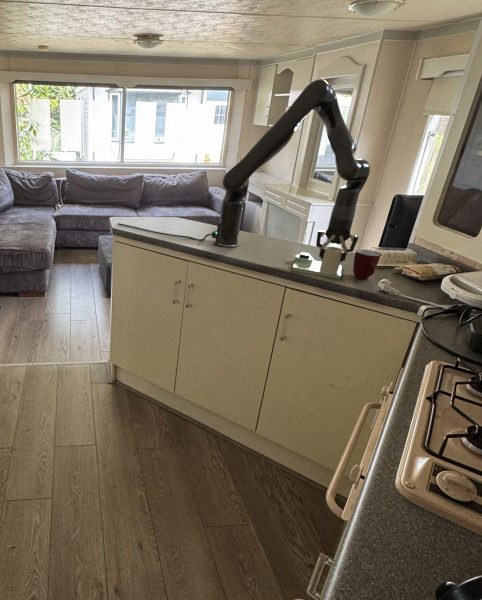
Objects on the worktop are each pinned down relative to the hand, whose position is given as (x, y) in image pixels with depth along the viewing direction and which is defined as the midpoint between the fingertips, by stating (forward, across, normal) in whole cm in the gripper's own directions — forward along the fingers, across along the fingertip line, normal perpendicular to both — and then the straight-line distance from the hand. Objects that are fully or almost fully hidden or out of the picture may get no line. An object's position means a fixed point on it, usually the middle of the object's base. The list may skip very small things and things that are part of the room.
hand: (331, 259), depth 164 cm
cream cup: (+4, 0, 0) cm, 4 cm away
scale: (+5, +4, -1) cm, 7 cm away
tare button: (+2, +9, -5) cm, 11 cm away
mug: (+5, -12, +1) cm, 13 cm away
